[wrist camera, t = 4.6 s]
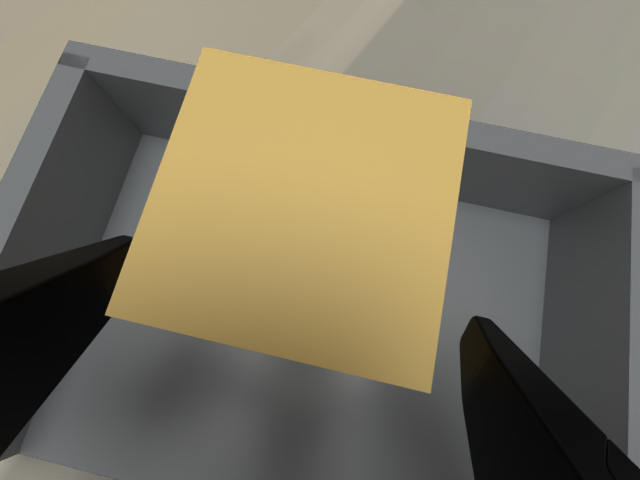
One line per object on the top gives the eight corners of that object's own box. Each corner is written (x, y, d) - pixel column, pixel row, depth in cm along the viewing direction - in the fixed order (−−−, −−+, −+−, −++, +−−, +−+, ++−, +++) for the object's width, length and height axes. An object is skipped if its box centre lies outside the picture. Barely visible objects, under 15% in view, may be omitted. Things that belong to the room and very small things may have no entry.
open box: (537, 578, 15) (669, 727, 10) (11, 440, 17) (-152, 498, 11) (561, 209, 20) (664, 159, 14) (138, 121, 21) (68, 40, 15)
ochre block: (353, 350, 17) (430, 393, 5) (250, 325, 17) (104, 315, 5) (373, 248, 18) (472, 99, 6) (277, 227, 18) (203, 47, 7)
